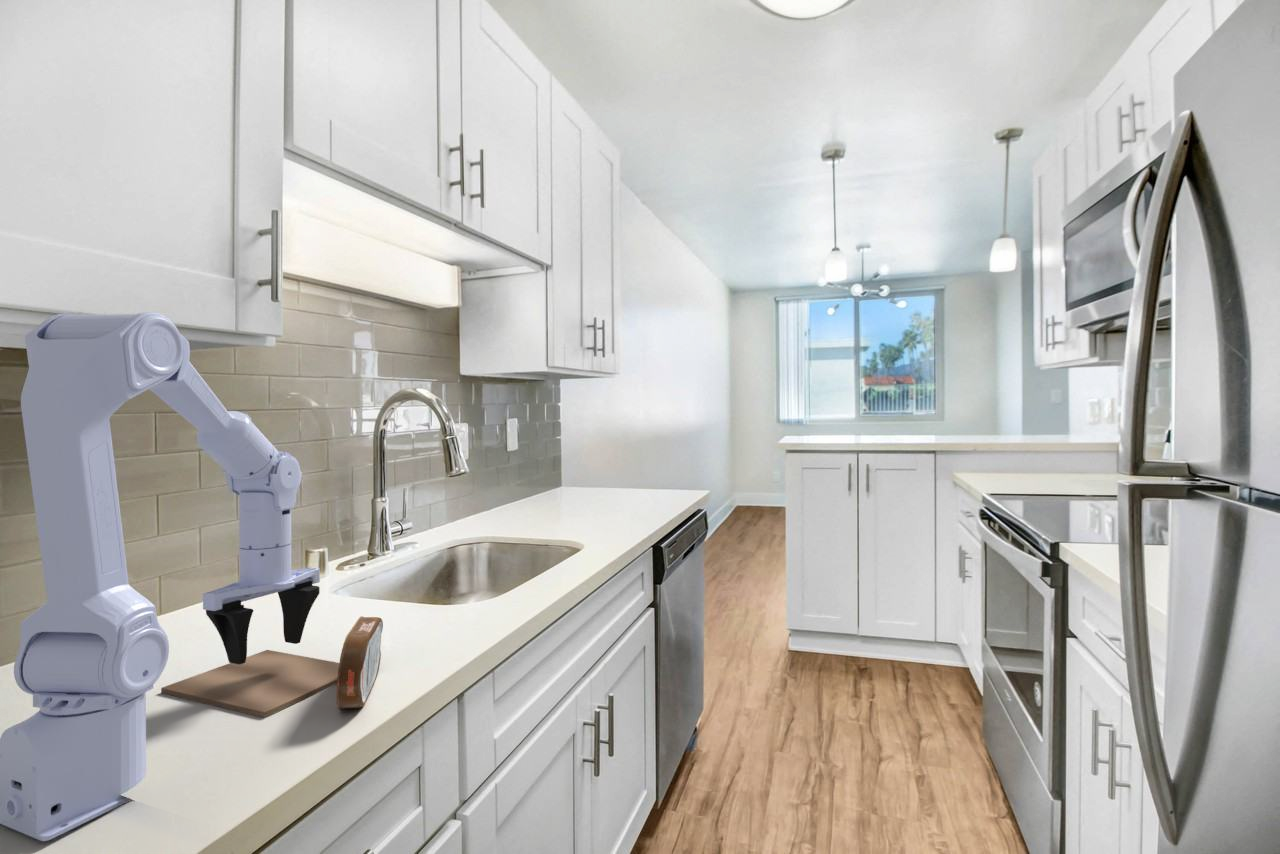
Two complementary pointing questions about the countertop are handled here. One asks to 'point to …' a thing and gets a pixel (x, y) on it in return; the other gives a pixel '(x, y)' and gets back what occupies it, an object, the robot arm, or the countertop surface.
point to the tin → (359, 663)
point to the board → (259, 683)
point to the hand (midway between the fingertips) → (266, 652)
